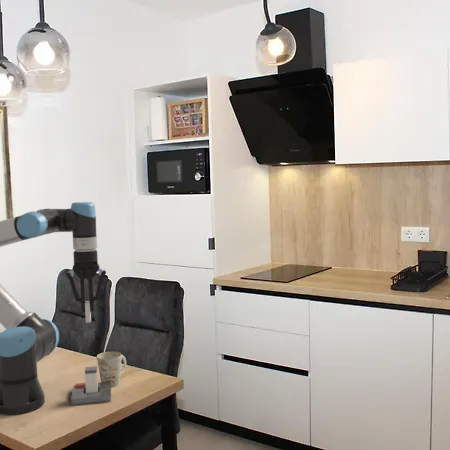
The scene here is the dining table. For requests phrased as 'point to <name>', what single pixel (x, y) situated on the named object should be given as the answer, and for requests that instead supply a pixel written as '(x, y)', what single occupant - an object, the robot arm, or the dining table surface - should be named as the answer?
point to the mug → (111, 367)
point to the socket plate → (91, 394)
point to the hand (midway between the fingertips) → (88, 321)
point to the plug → (91, 379)
